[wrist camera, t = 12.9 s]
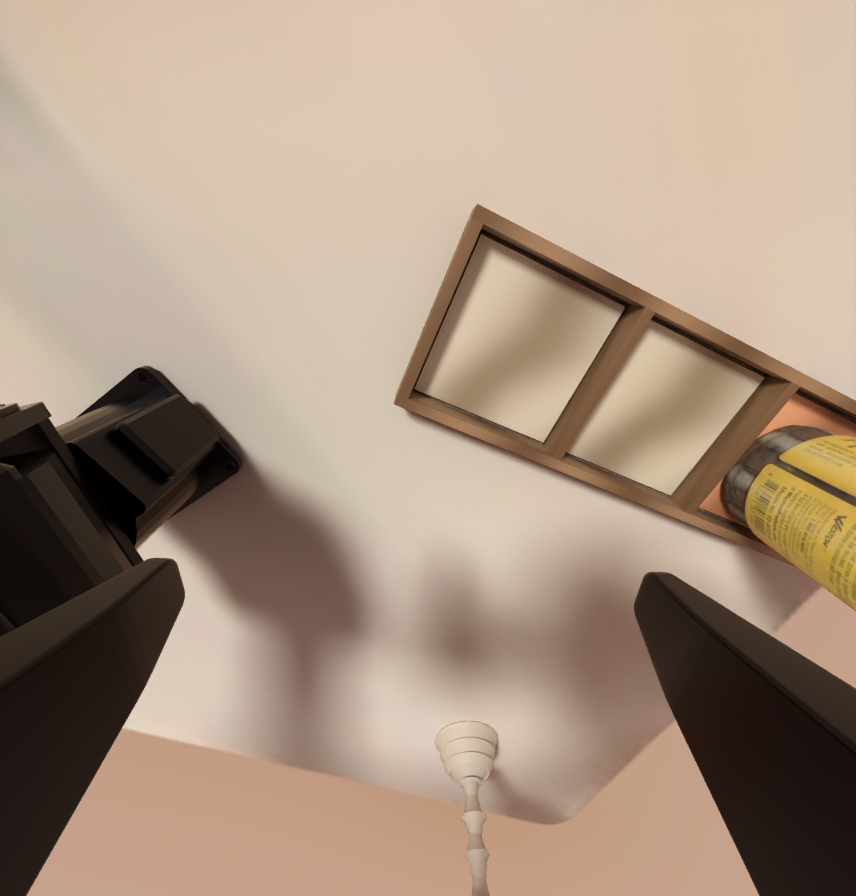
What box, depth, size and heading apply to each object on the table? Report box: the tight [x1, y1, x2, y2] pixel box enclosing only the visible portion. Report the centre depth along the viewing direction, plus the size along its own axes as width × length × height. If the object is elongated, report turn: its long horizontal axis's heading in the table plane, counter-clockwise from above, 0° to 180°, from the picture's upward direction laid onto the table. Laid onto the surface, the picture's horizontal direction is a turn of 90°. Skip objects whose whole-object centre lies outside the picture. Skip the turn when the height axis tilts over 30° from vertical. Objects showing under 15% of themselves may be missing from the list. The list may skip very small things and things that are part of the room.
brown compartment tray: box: [394, 204, 856, 567], centre depth 19 cm, size 25×9×2 cm, turn 67°
